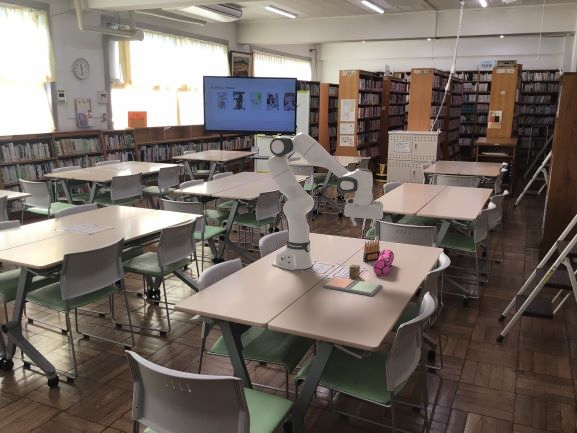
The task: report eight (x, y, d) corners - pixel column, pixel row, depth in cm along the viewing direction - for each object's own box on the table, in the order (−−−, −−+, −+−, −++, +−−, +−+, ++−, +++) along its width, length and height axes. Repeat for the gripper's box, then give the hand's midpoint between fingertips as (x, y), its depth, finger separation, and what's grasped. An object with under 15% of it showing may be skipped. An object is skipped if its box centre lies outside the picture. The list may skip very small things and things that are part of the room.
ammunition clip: (378, 258, 278) (378, 238, 276) (380, 259, 277) (380, 239, 274) (363, 261, 273) (363, 241, 271) (365, 262, 272) (365, 241, 269)
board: (322, 287, 234) (322, 284, 234) (334, 278, 246) (334, 276, 245) (372, 296, 222) (372, 293, 221) (382, 286, 234) (382, 284, 233)
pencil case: (392, 277, 247) (392, 258, 245) (372, 275, 250) (373, 257, 248) (395, 264, 267) (395, 247, 265) (377, 263, 270) (377, 246, 268)
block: (349, 277, 247) (349, 266, 246) (352, 275, 250) (352, 264, 249) (356, 279, 245) (356, 267, 244) (359, 276, 249) (359, 265, 247)
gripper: (385, 200, 247) (384, 227, 250) (347, 197, 256) (347, 223, 259) (381, 202, 242) (380, 229, 244) (343, 199, 251) (342, 225, 254)
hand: (363, 226), depth 252 cm, fingers open, 8 cm apart
